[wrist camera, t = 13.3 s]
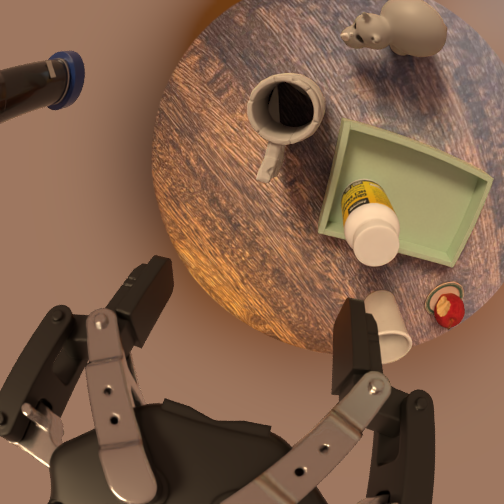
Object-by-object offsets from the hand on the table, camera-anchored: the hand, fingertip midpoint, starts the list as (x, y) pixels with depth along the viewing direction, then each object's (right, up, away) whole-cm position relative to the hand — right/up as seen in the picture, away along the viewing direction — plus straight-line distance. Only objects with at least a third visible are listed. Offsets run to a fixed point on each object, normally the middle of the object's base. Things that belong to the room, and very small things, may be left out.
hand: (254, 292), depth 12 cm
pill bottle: (+14, +9, +21) cm, 27 cm away
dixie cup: (+22, -7, +31) cm, 38 cm away
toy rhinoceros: (+15, +27, +9) cm, 32 cm away
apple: (+34, -6, +27) cm, 43 cm away
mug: (+4, +18, +18) cm, 26 cm away
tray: (+20, +10, +19) cm, 29 cm away
